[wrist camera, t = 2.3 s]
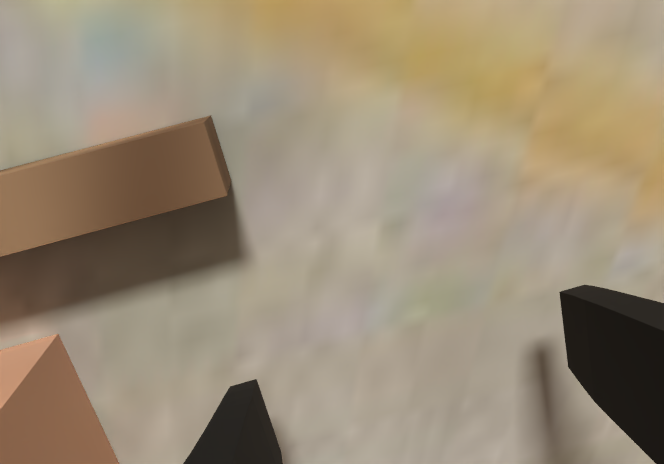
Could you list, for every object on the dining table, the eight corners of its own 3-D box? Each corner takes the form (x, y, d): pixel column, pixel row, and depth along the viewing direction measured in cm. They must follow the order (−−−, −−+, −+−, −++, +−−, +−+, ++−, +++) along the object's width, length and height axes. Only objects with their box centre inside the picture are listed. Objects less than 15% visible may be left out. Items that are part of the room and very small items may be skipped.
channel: (211, 115, 12) (203, 122, 10) (346, 550, 16) (355, 598, 14) (-449, 287, 11) (-554, 320, 10) (-129, 694, 15) (-169, 759, 14)
